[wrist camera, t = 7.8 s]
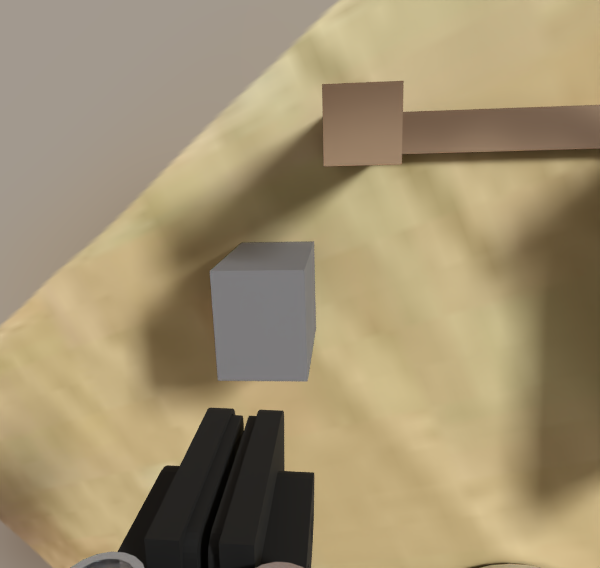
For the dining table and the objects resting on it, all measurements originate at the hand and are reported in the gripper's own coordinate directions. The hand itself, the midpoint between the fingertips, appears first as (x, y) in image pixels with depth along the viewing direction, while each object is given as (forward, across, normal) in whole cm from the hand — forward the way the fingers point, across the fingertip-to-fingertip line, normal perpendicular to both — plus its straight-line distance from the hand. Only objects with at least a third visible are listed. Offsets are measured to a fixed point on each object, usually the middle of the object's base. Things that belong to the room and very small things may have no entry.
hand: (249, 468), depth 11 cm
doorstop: (+18, +1, +1) cm, 18 cm away
